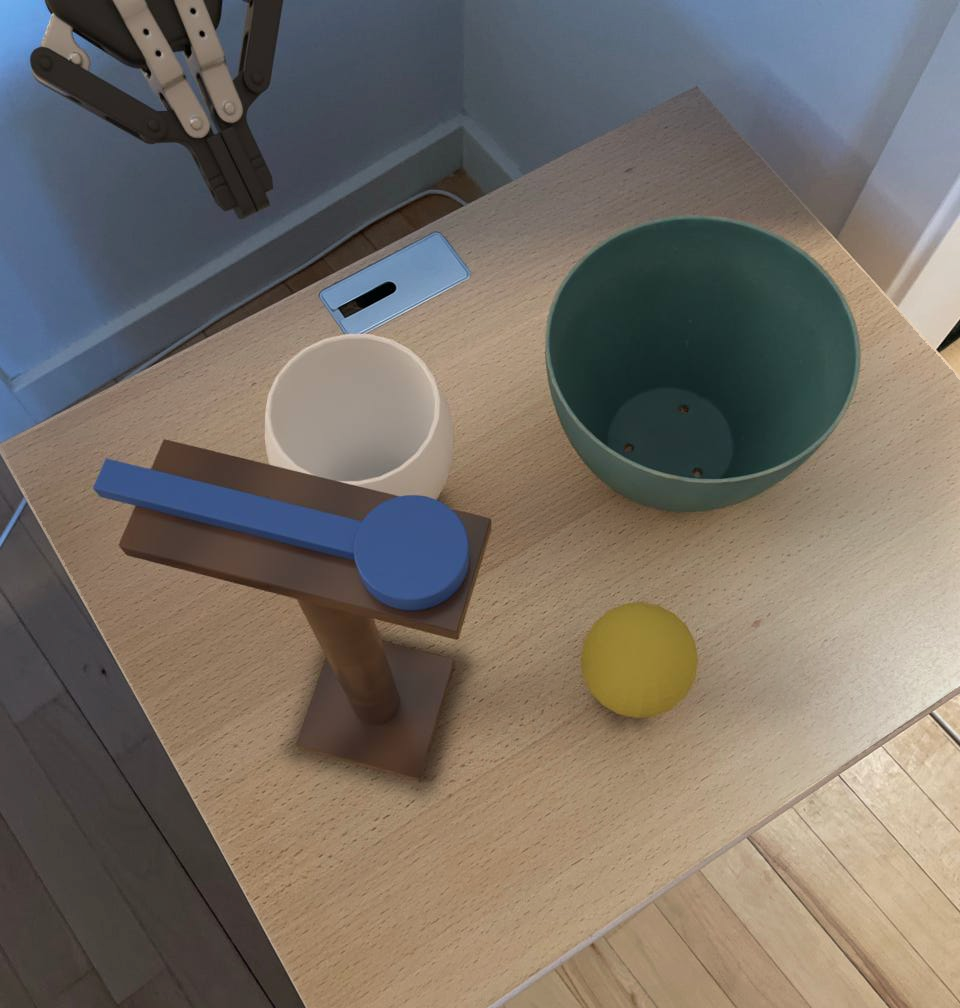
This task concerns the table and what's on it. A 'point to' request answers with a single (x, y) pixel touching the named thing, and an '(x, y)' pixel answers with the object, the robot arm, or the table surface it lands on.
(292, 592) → the spoon stand
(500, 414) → the table surface
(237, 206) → the robot arm
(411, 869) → the table surface
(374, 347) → the cup
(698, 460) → the plant pot
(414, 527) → the spoon
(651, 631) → the yellow ball
